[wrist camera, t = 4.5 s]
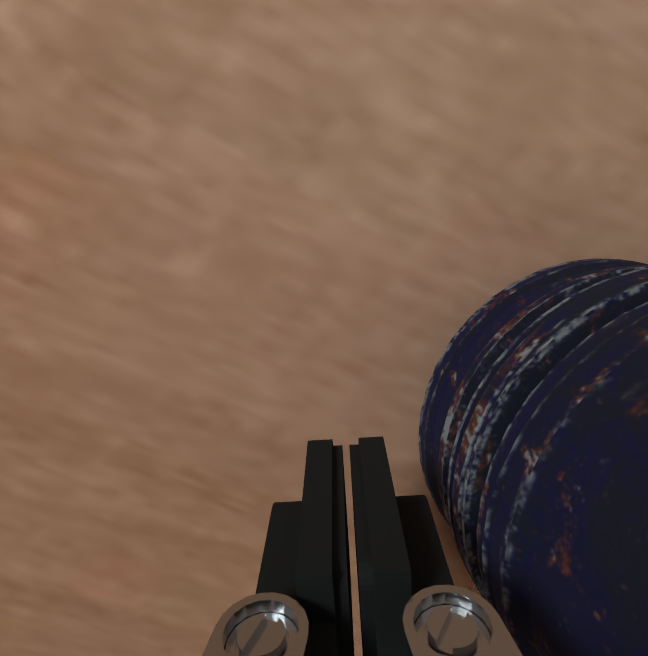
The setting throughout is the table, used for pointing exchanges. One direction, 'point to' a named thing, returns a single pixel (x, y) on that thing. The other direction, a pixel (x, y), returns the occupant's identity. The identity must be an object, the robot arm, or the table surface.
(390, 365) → the table surface
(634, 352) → the dark blue cylinder
